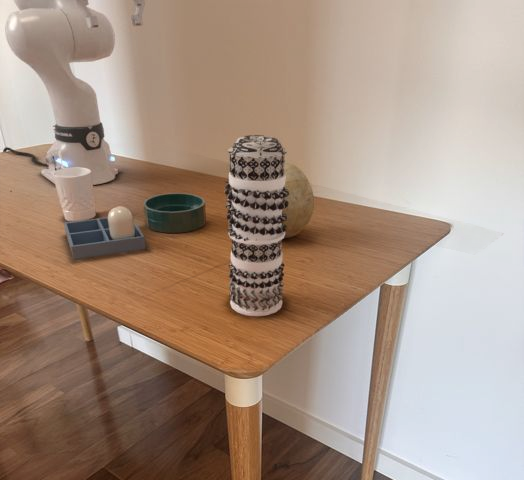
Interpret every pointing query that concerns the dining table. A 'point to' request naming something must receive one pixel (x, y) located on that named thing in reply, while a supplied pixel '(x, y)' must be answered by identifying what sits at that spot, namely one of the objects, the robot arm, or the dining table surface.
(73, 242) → the divided tray
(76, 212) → the white cup
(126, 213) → the cream capsule
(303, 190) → the fossilized egg
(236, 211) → the decorative candle
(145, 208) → the bowl
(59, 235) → the dining table surface
